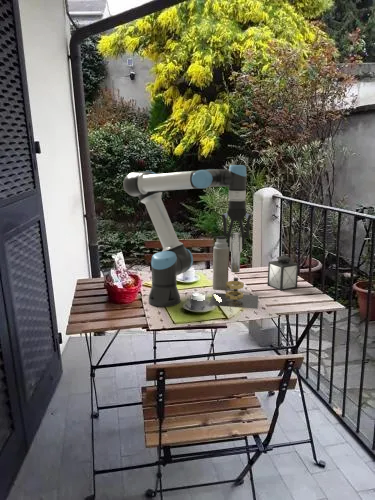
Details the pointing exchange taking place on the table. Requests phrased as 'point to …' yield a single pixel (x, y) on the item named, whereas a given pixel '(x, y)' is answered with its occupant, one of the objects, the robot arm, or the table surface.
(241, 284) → the collar stand
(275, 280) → the lantern
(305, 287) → the table surface
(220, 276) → the thermos bottle
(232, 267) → the tube
